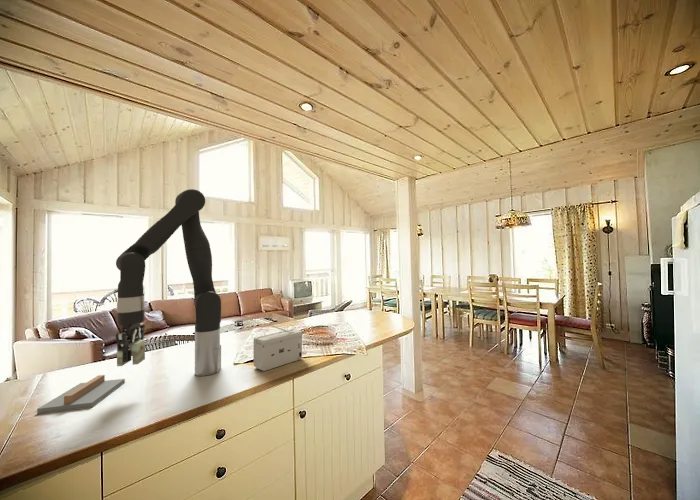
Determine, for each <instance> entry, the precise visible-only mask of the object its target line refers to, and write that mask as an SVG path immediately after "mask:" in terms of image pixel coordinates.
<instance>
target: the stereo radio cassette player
mask: <svg viewBox="0 0 700 500" xmlns="http://www.w3.org/2000/svg"><path fill="white" fill-rule="evenodd" d="M263 324H264V325H265V324H266V325H267V326H269V327H272V328H275V329H278V330H280V331H279V332H274V333H268V334H264V335H259V336H256V337H254V338H253V367H255V368H256V369H257V370H258V369H259V370H261V371H263V372H266V371H269V370H272V369H274V368H277V367H281V366H283V365H287V364H290V363H293V362H297V361H300V360H301V359H302V357H303V330H299V329H296V328H292V329H284V328H280V327H278V326H275V325H273V324H272V325H271V324H269V323H266V322H263Z"/></svg>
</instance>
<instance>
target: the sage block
mask: <svg viewBox="0 0 700 500" xmlns="http://www.w3.org/2000/svg"><path fill="white" fill-rule="evenodd" d="M145 343H146V339H143V340H134V343H132V344H131V358H132V366H133V365H139V364H140V363H142V362H143V361H144V360H145V359H146V352H145V351H146V344H145ZM128 345H129V343H128ZM121 347H122V344H121ZM128 363H129V362H123V351H118V348H117V347H116V366H117V367H123V366H125V365H126V364H128Z"/></svg>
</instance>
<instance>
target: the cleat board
mask: <svg viewBox="0 0 700 500" xmlns="http://www.w3.org/2000/svg"><path fill="white" fill-rule="evenodd" d="M105 377H106V374H99V375H96V376H95V377H94V378H92V379H89V381H87V382H80V383H79V384H76V385H75V386H74V387H72V388H69V389H68V390H66V391H64V392H63V393H61V394H60V395H58V396H57V397H55V398H53V399H51V400H50V401H48V402H45V404H43V405H41V406H39V407H38V408H37V409H36V411H37V412H36V415H37V414H38V415H40V414H47V413H55V412H56V413H57V412H64V411H72V410H80V409H90V408H93V407H95V406H96V405H97V404H99V403H100V402H101V401H103V400H104V399H105V398H107V397H108V396H109V395H111V394H112V393H113V392H115V391H116V390H117V389H118V388H120V387H121V386H123V385H124V384H125V383H126V378H119V379H110V380H105Z"/></svg>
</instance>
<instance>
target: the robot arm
mask: <svg viewBox="0 0 700 500" xmlns="http://www.w3.org/2000/svg"><path fill="white" fill-rule="evenodd" d="M174 204H175V205H174V206H173V207H172V208H171V209H170V210H168V212H167V213H166V214H165V215H164V216H162V217H161V218H160V219H159V220H157V221H156V222H155V223H153V224H152V225H151V226H150V227H149V228H148V229H147V230H146V231H145V232H143V234H142V235H141V236H140V237H139V238H138V239H137V240H136V241H135V242H134V243H133V244H132V245H130V246H129V247H128V248H126V250H125V251H123V252H122V253H121V254H120V255H119V256H118V257H117V258H116V261H115V265H116V266H115V267H116V268H117V269H118V270H119V271H120V280H119V282H118V285H117V302H116V324H117V325H118V326H121V331H120V332H119V333H116V334H115V339H116V340H115V342H116V349H117V348H118V351H123V362H128V363H129V362H131V361H132V356H131V344H132V343H134V340H145V339H144V336H145V327H146V325H145V324H141V323H144V322H145V321H146V320H145V317H146V315H145V314H146V313H145V296H144V278H145V272H146V260H147V259H148V258H149V257H150V256H152V255H153V254H155V253H156V252H158V250H159V249H160V248H161V247H163V245H164V244H166V242H167V241H168V240H169V239H170V238H171V237H172V236H173V234H174V233H175V232H176V231H177V230H178V229H180V227H181V230H182V239H183V243H184V250H185V256H186V257H185V258H186V261H187V266H188V269H189V273H190V276H191V278H192V283H193V295H194V296H193V298H194V301H193V303H194V306H195V322H194V323H195V324H194V375H195V376H198V377H199V376H200V377H203V376H210V375H213V374H218V373H219V371H220V370H221V368H222V345H221V343H220V342H221V340H220V339H221V322H222V321H221V320H222V299H221V297H220V295H219V294H218V293H217V292H216V289H215V285H214V282H213V281H214V280H213V256H212V250H211V245H210V242H209V239H208V237H207V235H206V233H205V231H204V229H203V227H202V225H201V218H200V211H201V210H202V209H203V208H204V207H205V204H206V198H205V195H204V194H203V193H202V192H201V191H200V190H198V189H196V188H195V189H194V188H188V189H186V190H183V191H182V192H180V193H179V194H177V195H176V197H175V202H174ZM128 343H129V345H128ZM121 344H122V347H121Z"/></svg>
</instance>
